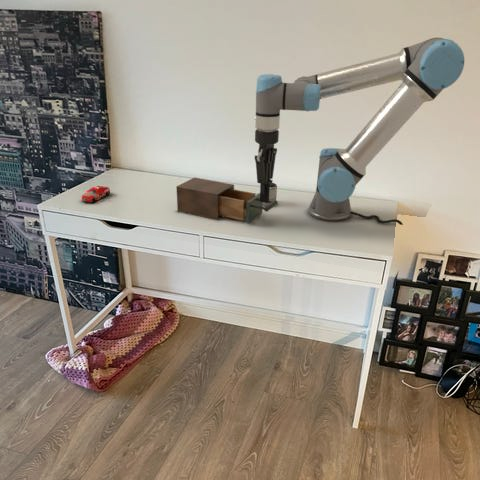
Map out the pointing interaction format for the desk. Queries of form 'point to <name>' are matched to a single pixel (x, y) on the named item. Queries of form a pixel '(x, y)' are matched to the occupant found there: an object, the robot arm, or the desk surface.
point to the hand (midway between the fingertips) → (264, 201)
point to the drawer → (242, 205)
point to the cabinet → (201, 197)
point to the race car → (96, 194)
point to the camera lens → (271, 193)
